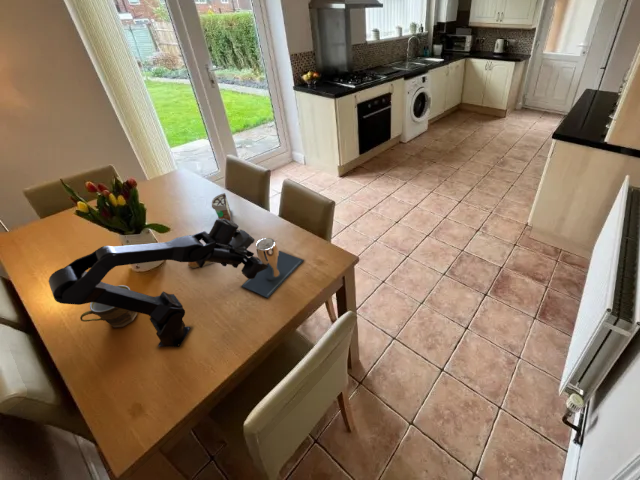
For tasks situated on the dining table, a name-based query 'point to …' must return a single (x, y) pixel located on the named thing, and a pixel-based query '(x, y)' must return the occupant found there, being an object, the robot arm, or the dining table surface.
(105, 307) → the ceramic cup
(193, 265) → the pastry
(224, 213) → the food container
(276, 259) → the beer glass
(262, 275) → the mat
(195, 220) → the dining table surface
